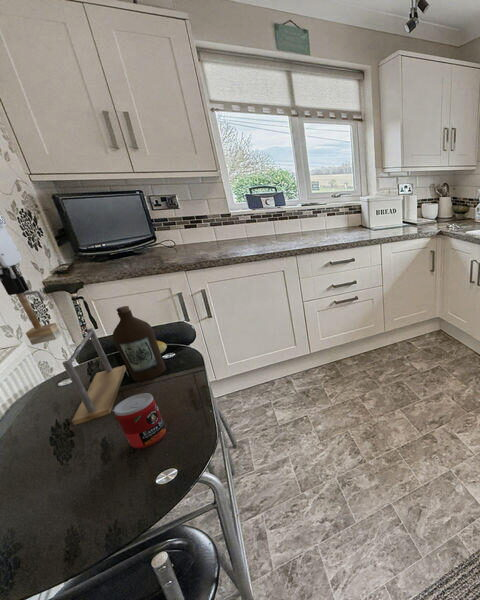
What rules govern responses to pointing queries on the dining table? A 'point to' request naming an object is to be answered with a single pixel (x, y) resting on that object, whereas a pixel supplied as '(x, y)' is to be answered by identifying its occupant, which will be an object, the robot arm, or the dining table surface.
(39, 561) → the dining table surface
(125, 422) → the canned food
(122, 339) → the olive oil
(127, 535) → the dining table surface
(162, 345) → the bread roll
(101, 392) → the rack
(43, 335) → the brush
